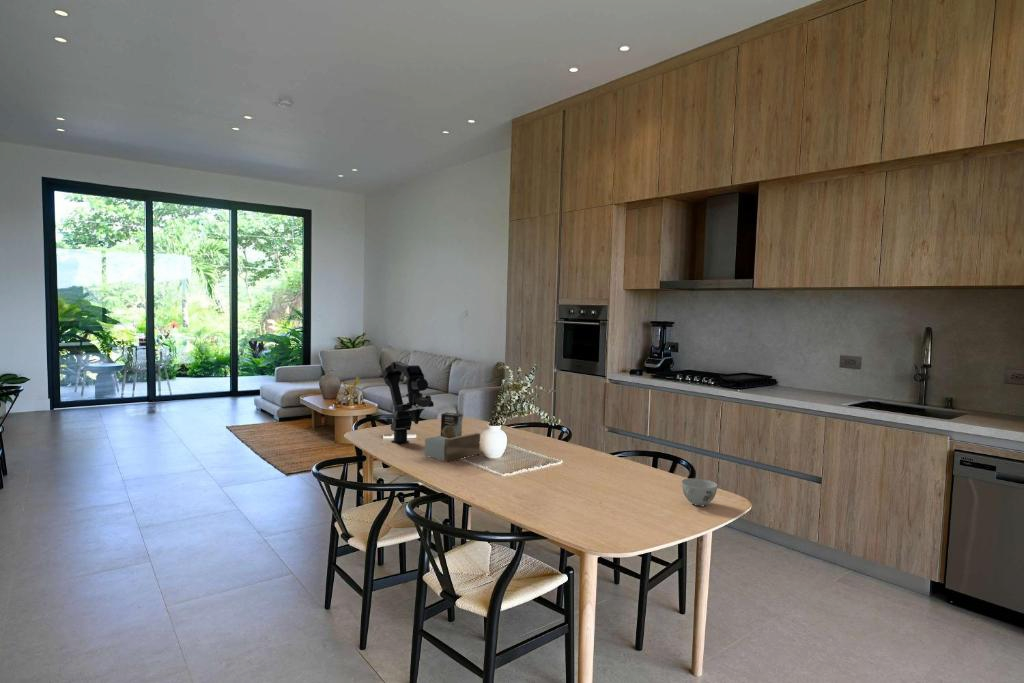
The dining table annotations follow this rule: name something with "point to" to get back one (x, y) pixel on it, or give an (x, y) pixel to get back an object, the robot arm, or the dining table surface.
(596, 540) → the dining table surface
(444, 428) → the coffee box
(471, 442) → the walnut board
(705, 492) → the teacup
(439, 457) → the grey block
